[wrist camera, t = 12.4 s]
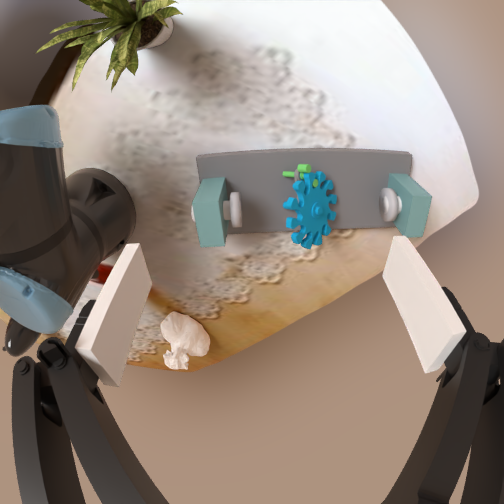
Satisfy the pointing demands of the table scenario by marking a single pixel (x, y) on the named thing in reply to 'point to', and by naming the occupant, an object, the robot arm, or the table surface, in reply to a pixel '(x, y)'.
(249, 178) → the shaft stand
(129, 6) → the house plant
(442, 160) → the table surface
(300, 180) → the gear
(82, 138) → the table surface
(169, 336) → the white irregular lump
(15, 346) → the dark grey egg shape
